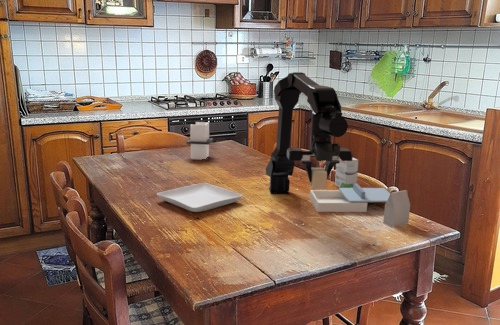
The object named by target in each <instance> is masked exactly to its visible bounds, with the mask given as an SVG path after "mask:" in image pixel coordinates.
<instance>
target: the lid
mask: <svg viewBox="0 0 500 325" xmlns="http://www.w3.org/2000/svg"><path fill="white" fill-rule="evenodd" d="M338 190H340V191H341V192H342V194H343V195H344V196H345V197H346V199H347V200H348V201H349V202H367V203H386V202H387V200H388V198H389V196H390V193H391V192H389V191H388V190H387V189H386V188H385V187H361V186H360V185H359V184H358V183H357V184H356V183H353V188H339V187H338Z"/></svg>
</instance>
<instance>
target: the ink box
mask: <svg viewBox="0 0 500 325" xmlns="http://www.w3.org/2000/svg"><path fill="white" fill-rule="evenodd" d="M339 161H340V163H338V164H336V165H335V176H334V177H335V178H334V186H335V187H337V188H338V189H339V188H353V183H356V184H358V173H359V171H358V169H359V159H357V158H355V157H353V158H352V161H342V160H341V159H340V158H339Z"/></svg>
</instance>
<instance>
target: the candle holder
mask: <svg viewBox="0 0 500 325" xmlns="http://www.w3.org/2000/svg"><path fill="white" fill-rule="evenodd" d="M189 129H190V132H189V133H190V134H189V135H190V137H189V138H188V140H187V141H185V142H186V143H185V144H187V145H190V160H202V159H206V158H207V157H210V156H209V155H210V147H209V146H210V144H211V143H212V142H213V141H214V138H213V137H210V121H209V122H208V121H207V122H205V121H195V124H192V123H191V124H190V128H189ZM207 159H208V158H207ZM207 159H206V160H207Z"/></svg>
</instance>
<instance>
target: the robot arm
mask: <svg viewBox="0 0 500 325" xmlns="http://www.w3.org/2000/svg"><path fill="white" fill-rule="evenodd" d="M273 94H274V100H275V103H276V104H277V107H278V114H277V115H278V116H277V118H278V119H277V132H276V144H275V148H274V149H273V151H272V153H271V154H270V158H269V161H268V163H267V165H266V167H265V174H266V175H267V176H268V177H269V187H268V190H269V193H270V194H271V195H272V194H273V195H274V194H278V195H282V194H287V195H288V194H289V191H290V181H291V180H290V178H289V177H290V176H293V174H294V170H295V161H297V162H298V161H299V162H300V163H301V164H303V165H304V168H305V170H306V174H307V177H308V181H310V182H311V181H312V173H311V167H312V164H313V163H312V161H311V158H315V161H317V162H323V161H325V163H324V164H325V166H324V169H325V170H326V172H327V180H328V178H329V177H330V174H331V172H332V170H333V168H334V167H336V164H338V163H340V161H339V158H340V159H341V160H342V161H352V158H354V157H353V152H352V150H350V149H349V148H347V147H341V144H340V143H338V142H337V143H332V140H331V138H332V137H334V138H341V137H342V136H344V135H345V134H346V133H347V131H348V128H349V123H348V121H347V119H346V118H345V117H343V112H342V105H341V103H340V100H339V98H338V94H337V92H336V90H335V88H334V87H330V86H327V85H320V84H318V83H317V82H315V81H314V80H312V78H310V77H308V76H307V75H306V73H305V72H303V71H302V72H301V71H300V72H299V71H298V72H297V71H296V72H295V71H294V72H293V71H292V72H290V73H288V74H287V76H285V77H283V78H282V79H279V81H277V83H276V84H275V85H274V88H273ZM301 94H303V95H304V96H306V97H307V98H306V99H307V101H306V102H307V103H308V105H310V107H311V109H310V110H309V111H308V113H309V114H311V121H310V122H311V123H310V138H309V139H310V142H309V150H303V149H302V148H301V147H291V139H292V138H291V137H292V128H293V126H292V125H293V113H294V108H295V107H296V105H297V104H298V103H299V101H300V95H301Z"/></svg>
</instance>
